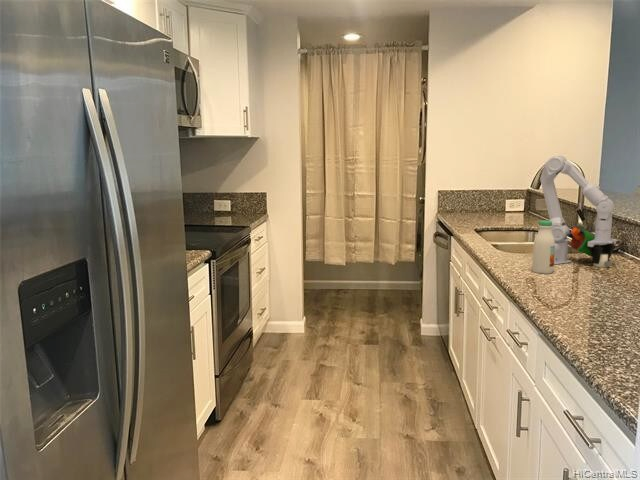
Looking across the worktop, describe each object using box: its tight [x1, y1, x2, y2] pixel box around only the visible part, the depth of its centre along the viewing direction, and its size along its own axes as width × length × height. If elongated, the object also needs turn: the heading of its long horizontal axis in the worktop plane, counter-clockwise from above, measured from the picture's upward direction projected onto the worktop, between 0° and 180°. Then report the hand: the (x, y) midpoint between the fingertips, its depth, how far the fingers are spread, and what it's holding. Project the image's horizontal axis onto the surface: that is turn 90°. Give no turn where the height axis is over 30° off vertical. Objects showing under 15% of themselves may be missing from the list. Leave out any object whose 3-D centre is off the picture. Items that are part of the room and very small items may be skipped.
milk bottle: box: [531, 219, 555, 275], centre depth 207 cm, size 8×8×20 cm
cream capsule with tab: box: [592, 253, 613, 268], centre depth 216 cm, size 5×7×5 cm
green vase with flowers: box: [567, 227, 614, 258], centre depth 223 cm, size 10×9×20 cm
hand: (600, 262), depth 217 cm, fingers closed on cream capsule with tab, 5 cm apart
